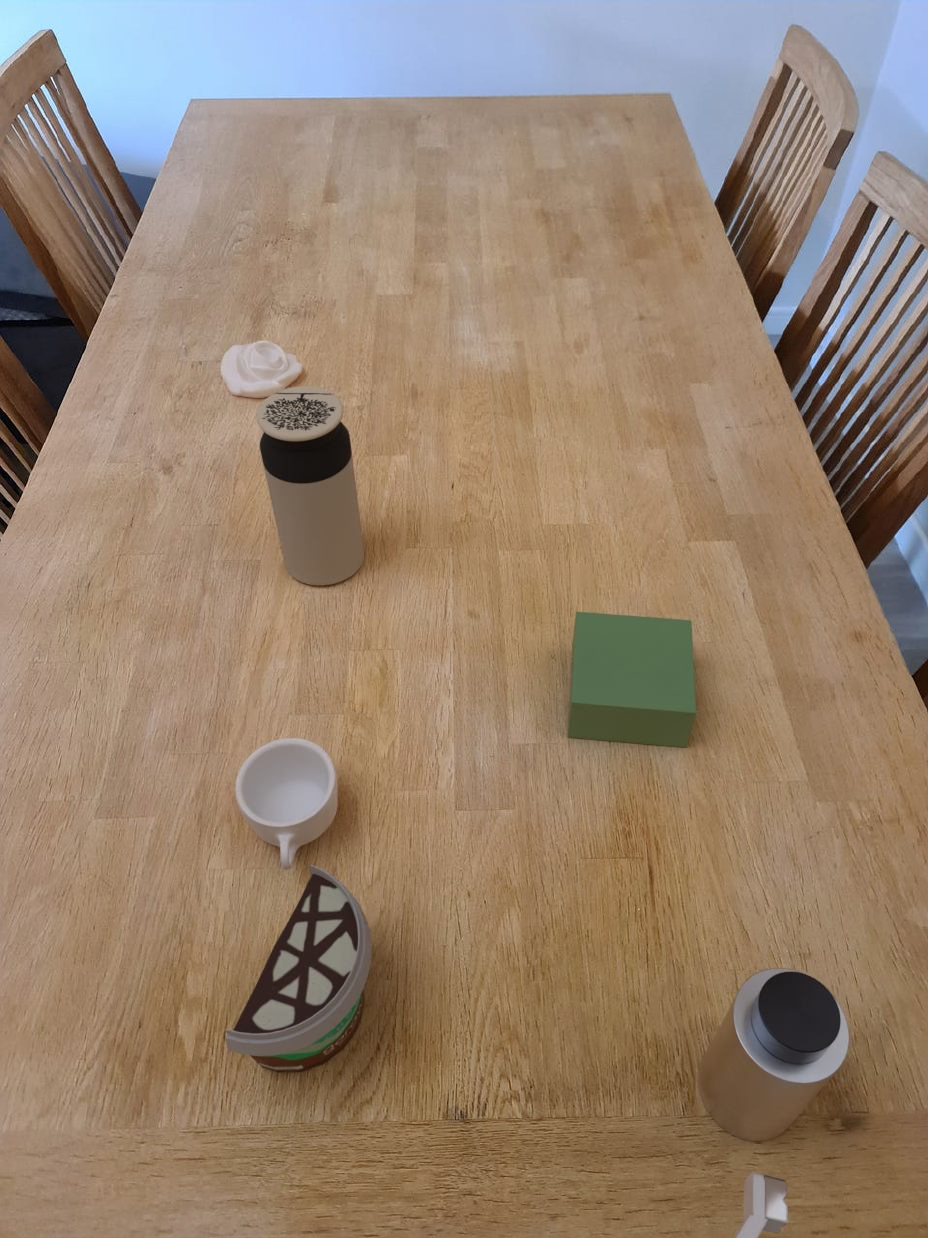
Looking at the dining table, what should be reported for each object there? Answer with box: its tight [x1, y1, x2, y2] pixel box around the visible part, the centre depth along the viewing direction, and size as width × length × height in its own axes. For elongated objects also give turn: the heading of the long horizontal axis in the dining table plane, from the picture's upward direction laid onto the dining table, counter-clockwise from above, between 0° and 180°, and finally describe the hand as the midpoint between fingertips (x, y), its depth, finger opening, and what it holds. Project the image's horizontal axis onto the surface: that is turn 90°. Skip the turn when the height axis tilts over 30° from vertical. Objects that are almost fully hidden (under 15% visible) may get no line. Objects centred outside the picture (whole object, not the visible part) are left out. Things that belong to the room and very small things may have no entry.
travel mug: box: [256, 385, 365, 586], centre depth 90 cm, size 8×8×18 cm
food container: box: [224, 864, 373, 1073], centre depth 63 cm, size 12×6×10 cm, turn 160°
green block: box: [566, 611, 697, 748], centre depth 83 cm, size 10×10×5 cm
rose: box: [219, 339, 304, 399], centre depth 116 cm, size 10×4×10 cm
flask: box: [697, 967, 850, 1142], centre depth 59 cm, size 6×6×14 cm
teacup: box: [234, 737, 339, 871], centre depth 75 cm, size 10×8×5 cm
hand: (876, 1205), depth 42 cm, fingers open, 8 cm apart
